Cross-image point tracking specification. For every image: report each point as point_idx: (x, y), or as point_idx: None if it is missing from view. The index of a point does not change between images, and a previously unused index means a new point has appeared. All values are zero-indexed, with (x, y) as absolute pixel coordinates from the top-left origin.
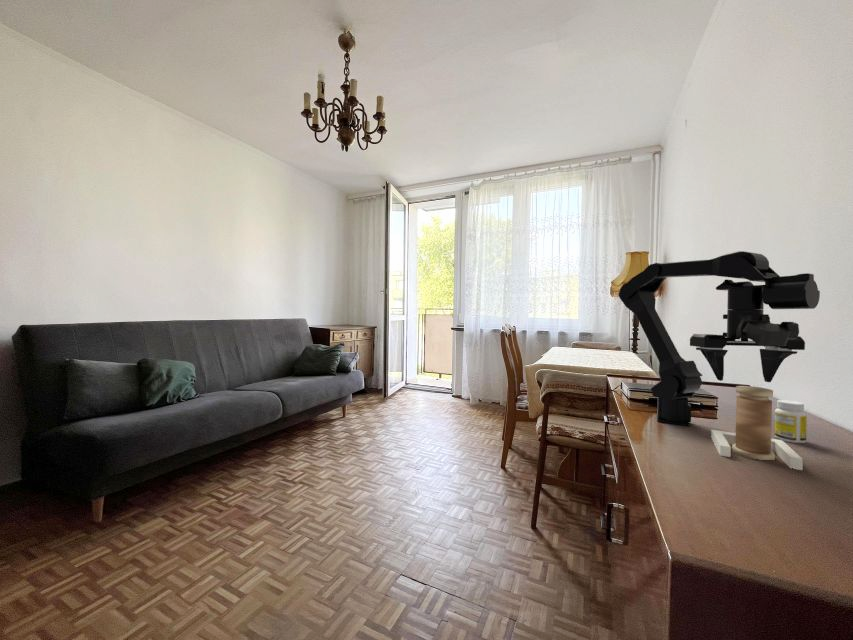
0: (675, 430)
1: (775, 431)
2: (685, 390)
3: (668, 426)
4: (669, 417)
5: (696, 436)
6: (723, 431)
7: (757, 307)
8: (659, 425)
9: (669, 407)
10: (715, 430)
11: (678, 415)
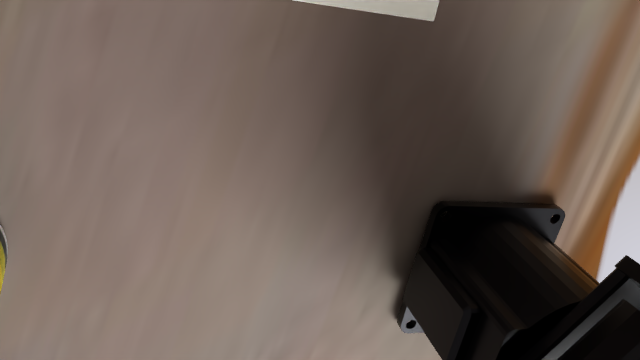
0: (535, 83)
1: (3, 263)
2: (624, 314)
3: (537, 147)
4: (528, 229)
5: (471, 13)
6: (377, 7)
7: None
8: (575, 141)
9: (568, 265)
10: (418, 8)
11: (501, 242)
